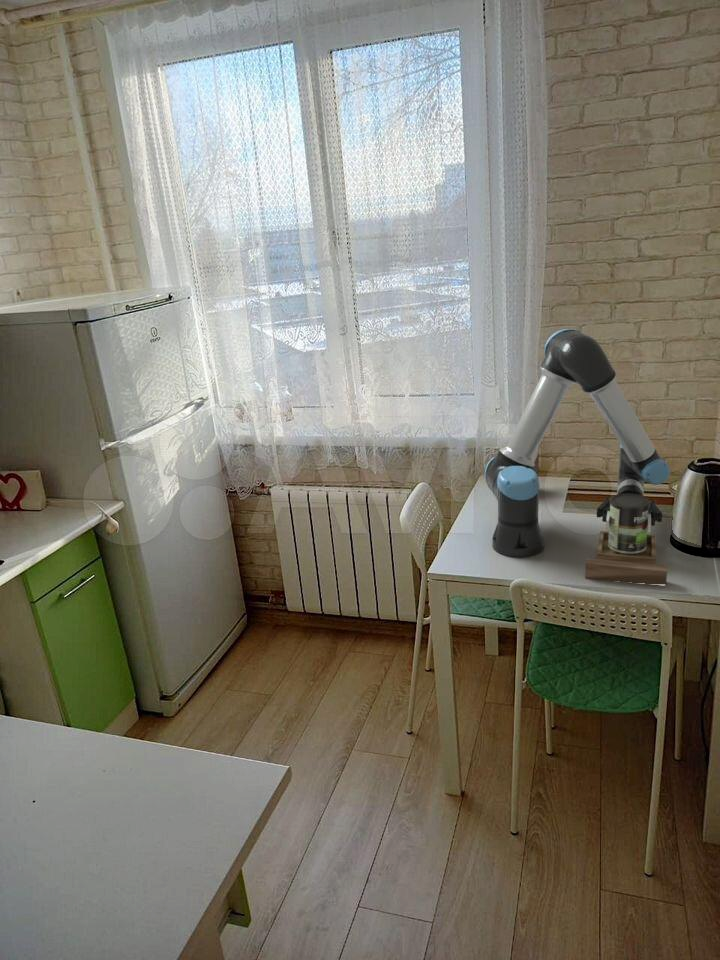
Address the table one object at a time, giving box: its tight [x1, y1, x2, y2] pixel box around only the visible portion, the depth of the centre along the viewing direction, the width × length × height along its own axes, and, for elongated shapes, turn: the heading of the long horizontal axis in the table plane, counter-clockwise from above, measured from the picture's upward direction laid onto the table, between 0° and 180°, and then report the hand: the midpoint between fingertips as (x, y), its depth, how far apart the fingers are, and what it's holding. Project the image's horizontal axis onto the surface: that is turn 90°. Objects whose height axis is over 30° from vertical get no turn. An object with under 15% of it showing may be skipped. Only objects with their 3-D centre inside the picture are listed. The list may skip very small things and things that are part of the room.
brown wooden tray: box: [596, 530, 657, 565], centre depth 202 cm, size 15×15×3 cm
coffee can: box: [608, 494, 651, 554], centre depth 199 cm, size 10×10×14 cm
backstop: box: [584, 557, 668, 585], centre depth 188 cm, size 3×20×5 cm, turn 69°
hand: (628, 526), depth 195 cm, fingers closed on coffee can, 10 cm apart
